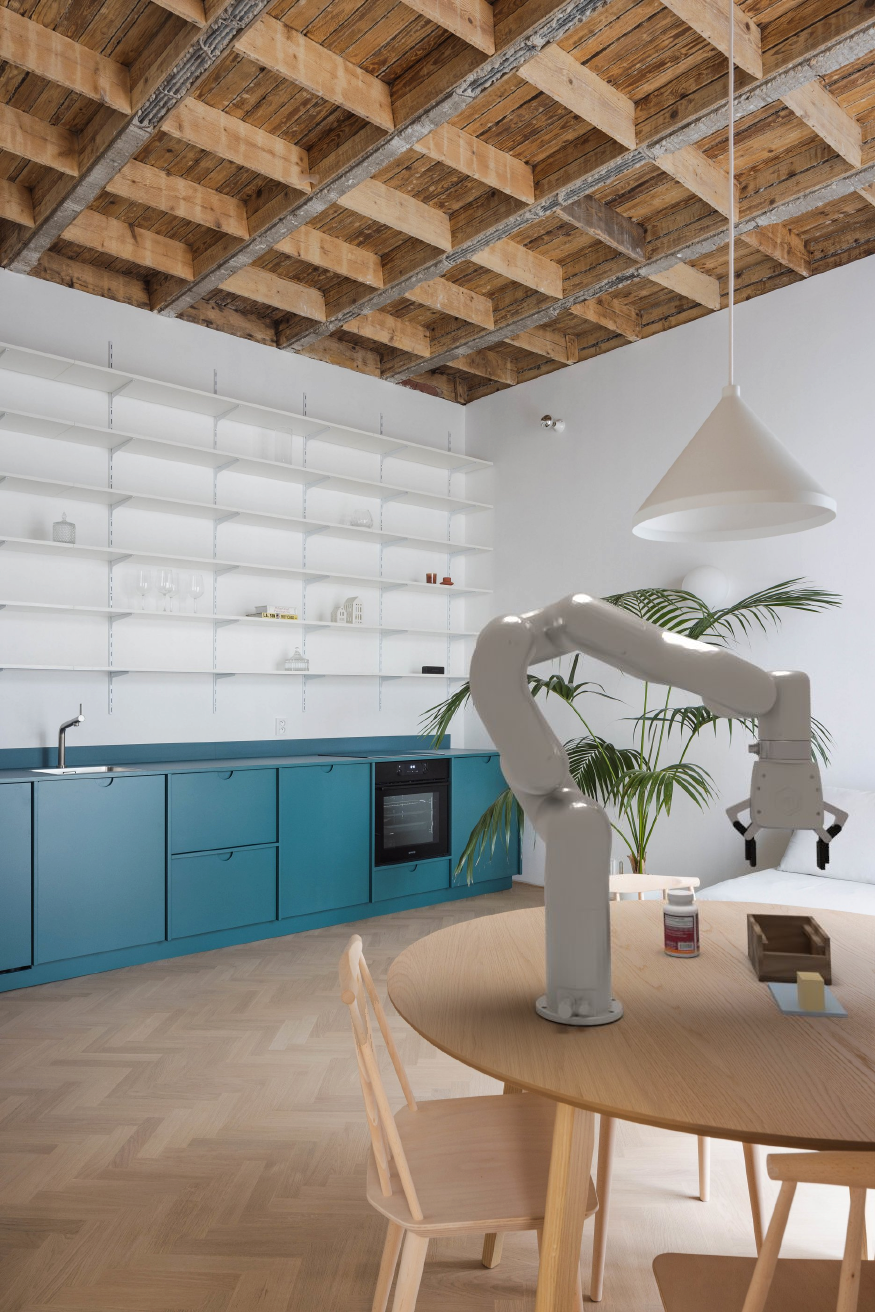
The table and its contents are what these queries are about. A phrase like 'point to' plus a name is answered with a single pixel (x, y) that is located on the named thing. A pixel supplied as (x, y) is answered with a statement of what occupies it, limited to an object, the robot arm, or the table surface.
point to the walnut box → (787, 947)
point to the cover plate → (792, 998)
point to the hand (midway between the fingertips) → (786, 867)
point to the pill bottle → (681, 924)
